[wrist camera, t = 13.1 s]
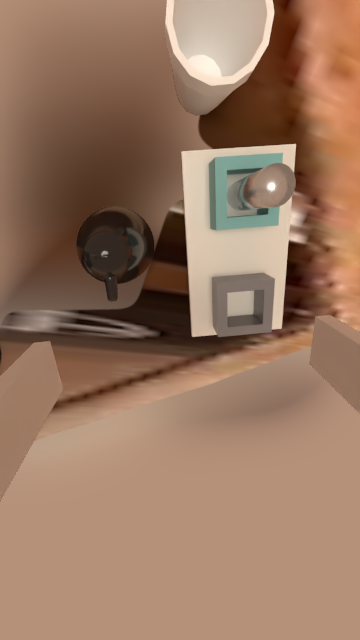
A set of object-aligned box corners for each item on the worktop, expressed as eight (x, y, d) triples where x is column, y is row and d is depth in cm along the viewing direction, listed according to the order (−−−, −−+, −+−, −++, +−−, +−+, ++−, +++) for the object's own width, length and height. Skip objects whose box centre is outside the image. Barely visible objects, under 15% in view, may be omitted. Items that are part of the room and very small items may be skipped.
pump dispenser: (95, 279, 43) (64, 309, 29) (81, 210, 39) (38, 206, 25) (158, 273, 43) (157, 300, 29) (150, 204, 40) (145, 197, 26)
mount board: (191, 333, 48) (195, 348, 42) (180, 153, 38) (184, 142, 32) (278, 325, 48) (293, 339, 43) (291, 146, 38) (313, 134, 33)
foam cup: (226, 134, 37) (259, 94, 25) (160, 123, 36) (161, 76, 24) (240, 46, 34) (285, -48, 22) (168, 32, 33) (172, -77, 21)
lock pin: (226, 211, 39) (255, 208, 27) (226, 181, 38) (256, 164, 26) (253, 209, 39) (293, 205, 27) (254, 179, 38) (297, 161, 26)
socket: (210, 228, 40) (216, 230, 36) (208, 163, 37) (214, 157, 33) (266, 224, 40) (278, 225, 36) (269, 159, 37) (283, 152, 33)
